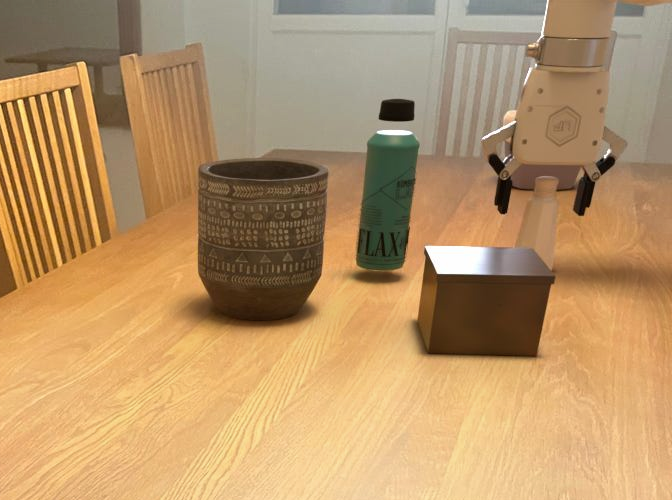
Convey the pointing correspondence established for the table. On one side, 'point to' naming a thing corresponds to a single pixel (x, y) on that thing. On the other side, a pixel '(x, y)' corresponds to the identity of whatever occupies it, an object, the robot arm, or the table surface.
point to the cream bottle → (540, 220)
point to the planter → (261, 234)
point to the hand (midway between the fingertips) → (539, 212)
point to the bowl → (539, 168)
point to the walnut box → (483, 300)
